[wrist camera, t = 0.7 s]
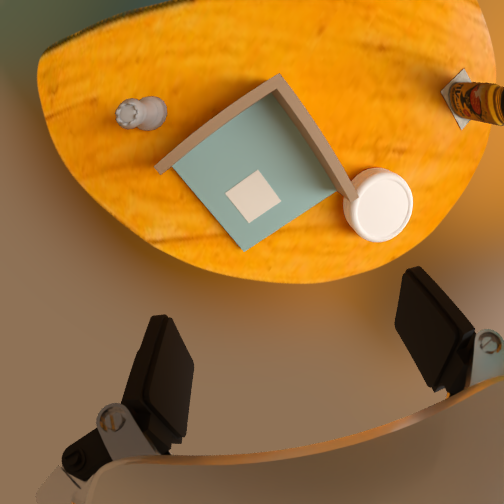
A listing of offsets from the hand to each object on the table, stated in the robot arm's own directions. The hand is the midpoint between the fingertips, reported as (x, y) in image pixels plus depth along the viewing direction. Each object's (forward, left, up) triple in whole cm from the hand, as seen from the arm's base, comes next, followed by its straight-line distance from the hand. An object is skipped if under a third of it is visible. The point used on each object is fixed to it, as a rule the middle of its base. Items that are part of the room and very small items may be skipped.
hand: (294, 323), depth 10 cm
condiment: (-36, +6, -26) cm, 45 cm away
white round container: (-12, +12, -27) cm, 31 cm away
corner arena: (-1, -1, -26) cm, 26 cm away
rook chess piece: (+5, -15, -26) cm, 31 cm away
